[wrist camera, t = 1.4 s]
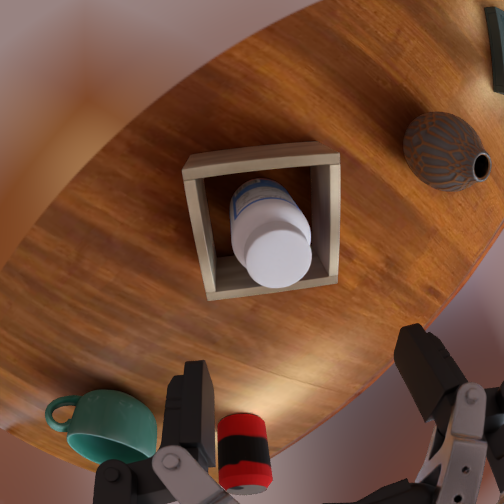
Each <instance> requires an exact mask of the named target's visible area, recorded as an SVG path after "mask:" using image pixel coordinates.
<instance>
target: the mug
mask: <svg viewBox="0 0 504 504" xmlns="http://www.w3.org/2000/svg"><path fill="white" fill-rule="evenodd" d="M68 405H72V406H76V408H75V410H74V413H73V416H72V418H71V419H68V421H67V422H65V423H58V422H56V421H55V420H54V419H53V417H52V413H53V411H54V410H55V409H57V408H59V407H62V406H68ZM45 418H46V421H47V424H48V425H49V426H50V427H51V428H52V429H54V430H56V431H59V432H68V434H67V442H68V444H69V445H70V446H71V448H73V449H74V450H75V451H76V452H77V453H79V454H80V455H82V456H83V457H85V458H87V459H89V460H91V461H93V462H95V463H98V464H102V463H103V462H104V461H107V460H110V459H117V460H121V461H123V462H124V463H126V464H128V463H133V462H137V461H141V460H145V459H147V458H149V457H151V456H153V455H154V454H155V453H156V443H157V424H156V420H155V418H154V416H153V414H152V412H151V411H150V410H149V409H148V408H147V407H146V406H145V405H144V404H143V403H142V402H140V401H139V400H137V399H136V398H134V397H132V396H131V395H129V394H126V393H124V392H121V391H116V390H94V391H91V392H88V393H86V394H85V395H84V396H77V395H71V396H64V397H60V398H57V399H55V400H53V401H52V402H51V403H50V404H49V405H48V406H47V408H46V411H45Z"/></svg>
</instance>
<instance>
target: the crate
mask: <svg viewBox="0 0 504 504" xmlns="http://www.w3.org/2000/svg"><path fill="white" fill-rule="evenodd" d="M339 163H340V153H339V152H337V151H335V150H333V149H331V148H329V147H327V146H326V145H324V144H322V143H320V142H318V141H312V142H296V143H284V144H272V145H262V146H252V147H243V148H235V149H227V150H219V151H212V152H205V153H198V154H192V155H190V157H189V158H188V160H187V162H186V163H185V165H184V167H183V168H182V176H183V180H184V187H185V193H186V198H187V204H188V209H189V214H190V219H191V225H192V230H193V235H194V240H195V245H196V250H197V254H198V259H199V264H200V269H201V273H202V278H203V282H204V287H205V291H206V296H207V300H208V301H211V300H220V299H228V298H236V297H244V296H252V295H260V294H267V293H275V292H282V291H289V290H296V289H303V288H310V287H316V286H323V285H329V284H336V283H337V282H338V263H339V239H340V164H339ZM301 166H310V180H311V211H312V246H310V248H311V252H312V260H311V265H310V267H309V269H308V271H307V273H306V274H305V275H304V276H303V277H302V278H301V279H300V280H299V281H297V282H296V283H294V284H292V285H290V286H287V287H283V288H268V287H265V286H262V285H260V284H258V283H257V282H255V281H254V280H253V279H252V278H251V276H250V275H249V273H248V271H247V268H245V267H244V266H243V265H242V264H241V263H240V262H239V261H238V259H237V258H236V256H235V255H234V256H226V257H218V258H217V256H216V250H215V245H214V239H213V233H212V227H211V221H210V215H209V209H208V203H207V197H206V191H205V184H204V177H211V176H219V175H226V174H234V173H242V172H250V171H259V170H269V169H279V168H289V167H301Z"/></svg>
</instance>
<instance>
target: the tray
mask: <svg viewBox="0 0 504 504" xmlns="http://www.w3.org/2000/svg"><path fill="white" fill-rule="evenodd" d="M484 9H485V14H486V20H487V26H488V32H489V39H490V47H491V56H492V68H493V84H494V92H497V93H500V94H503V95H504V11H502V10H501V9H499V8H497V7H487V8H484Z"/></svg>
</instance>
